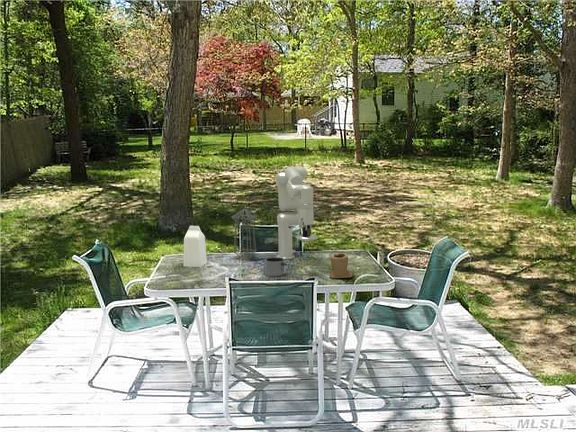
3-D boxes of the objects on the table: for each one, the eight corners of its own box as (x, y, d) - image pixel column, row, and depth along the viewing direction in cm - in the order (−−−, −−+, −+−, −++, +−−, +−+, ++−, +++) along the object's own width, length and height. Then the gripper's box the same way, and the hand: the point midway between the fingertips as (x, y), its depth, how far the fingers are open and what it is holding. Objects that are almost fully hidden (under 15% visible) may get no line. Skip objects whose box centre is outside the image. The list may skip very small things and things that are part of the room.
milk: (183, 266, 364) (182, 227, 360) (190, 262, 375) (189, 224, 371) (200, 267, 361) (199, 227, 357) (207, 263, 372) (206, 224, 368)
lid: (303, 236, 350) (303, 225, 349) (321, 238, 343) (322, 227, 342) (291, 239, 339) (291, 228, 338) (310, 242, 332) (310, 231, 331)
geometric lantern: (230, 259, 380) (229, 209, 375) (239, 255, 395) (238, 206, 390) (252, 261, 376) (251, 210, 371) (260, 256, 391) (259, 207, 385)
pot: (269, 269, 353) (269, 256, 351) (291, 273, 343) (291, 259, 342) (258, 274, 343) (257, 259, 342) (280, 277, 334) (280, 263, 332)
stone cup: (330, 280, 327) (330, 255, 325) (328, 275, 339) (328, 251, 337) (355, 280, 327) (355, 255, 325) (353, 275, 339) (353, 251, 337)
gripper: (309, 204, 346) (308, 233, 349) (294, 207, 333) (294, 237, 336) (319, 205, 342) (318, 234, 345) (304, 208, 329) (304, 239, 332)
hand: (306, 235), depth 341 cm, fingers closed on lid, 3 cm apart
